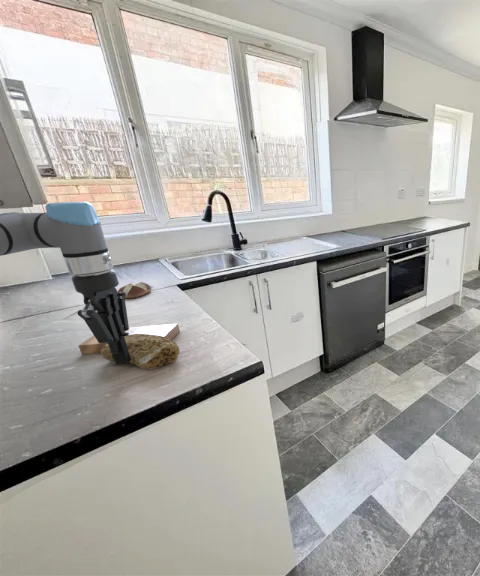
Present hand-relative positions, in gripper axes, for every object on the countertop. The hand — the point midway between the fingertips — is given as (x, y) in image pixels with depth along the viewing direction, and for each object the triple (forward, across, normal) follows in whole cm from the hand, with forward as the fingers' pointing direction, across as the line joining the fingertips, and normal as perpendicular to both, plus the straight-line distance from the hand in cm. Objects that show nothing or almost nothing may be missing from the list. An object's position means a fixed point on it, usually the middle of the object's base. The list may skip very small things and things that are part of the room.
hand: (123, 361), depth 78 cm
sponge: (+4, +7, 0) cm, 8 cm away
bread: (+4, +67, +34) cm, 75 cm away
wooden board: (+4, +19, +9) cm, 21 cm away
